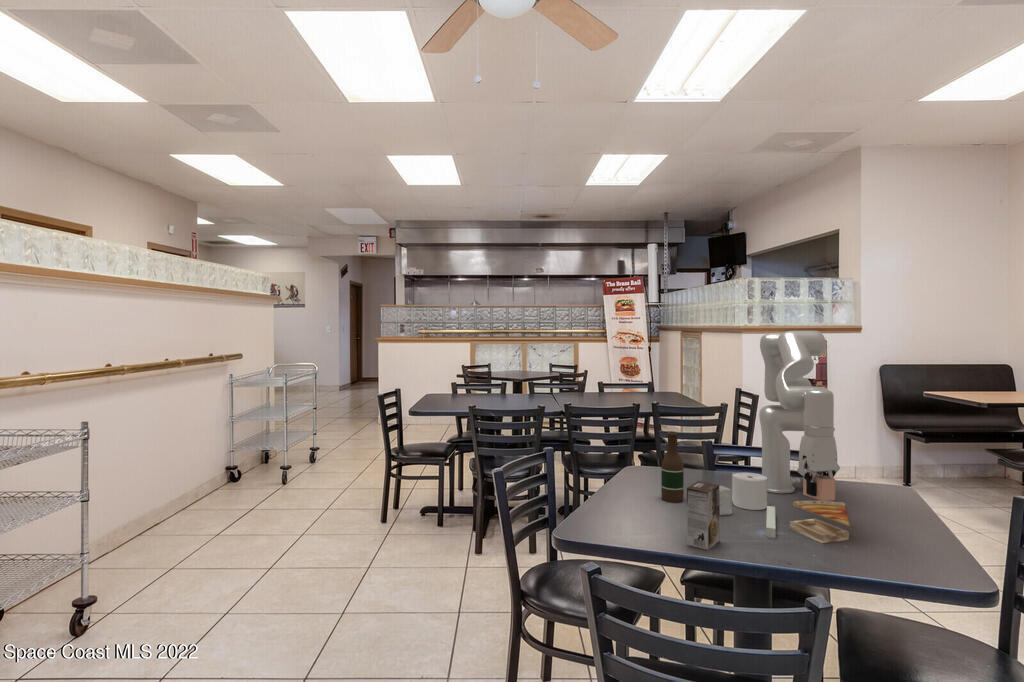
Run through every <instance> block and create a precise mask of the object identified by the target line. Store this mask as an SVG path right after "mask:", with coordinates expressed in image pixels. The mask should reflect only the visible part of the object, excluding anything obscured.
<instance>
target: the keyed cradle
mask: <svg viewBox="0 0 1024 682" xmlns="http://www.w3.org/2000/svg"><path fill="white" fill-rule="evenodd" d="M789 529H790V530H792V532H793V531H794V532H796V533H797V534H800V535H802V536H805V537H807V538H808V539H809V538H810V539H812V540H813V541H815V542H818V543H820V544H827V543H835V542H843V541H849V540H850V532H849V531H848V530H846V529H843V528H840V527H838V526H836V525H833V524H831V523H827V522H826V521H823V520H821V519H818V518H808V519H806V518H805V519H798V520H790V521H789Z"/></svg>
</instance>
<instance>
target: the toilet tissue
mask: <svg viewBox="0 0 1024 682" xmlns="http://www.w3.org/2000/svg"><path fill="white" fill-rule="evenodd" d="M731 474H732V475H731V490H732V504H733V505H734V506H735V507H737V508H739V509H745V510H749V511H751V510H752V511H761V510H762V511H763V510H765V509H766V510H767V506H768V492H767V477H766V476H763V475H762V474H759V473H754V472H736V473H735V472H734V470H733V471H732V473H731Z"/></svg>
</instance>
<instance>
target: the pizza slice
mask: <svg viewBox="0 0 1024 682" xmlns="http://www.w3.org/2000/svg"><path fill="white" fill-rule="evenodd" d="M792 506H793V507H796V508H798V509H801V510H804V511H806V512H808V513H811V514H814V515H817V516H819V517H822V518H824V519H828V520H829V521H832V522H835V523H837V524H840V525H843V526H846V527H848V528H850V527H851V526H850V521H849V516H848V512H847V509H846V502H841V501H833V500H829V501H821V500H797V501H796V500H795V501H793V502H792Z"/></svg>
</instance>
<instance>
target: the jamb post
mask: <svg viewBox="0 0 1024 682" xmlns="http://www.w3.org/2000/svg"><path fill="white" fill-rule="evenodd" d="M732 504H733V502H732V488H729V487H726V486H724V485H719V506H720V516H727V515H728V516H729V515H732V513H733V511H732Z"/></svg>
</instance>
